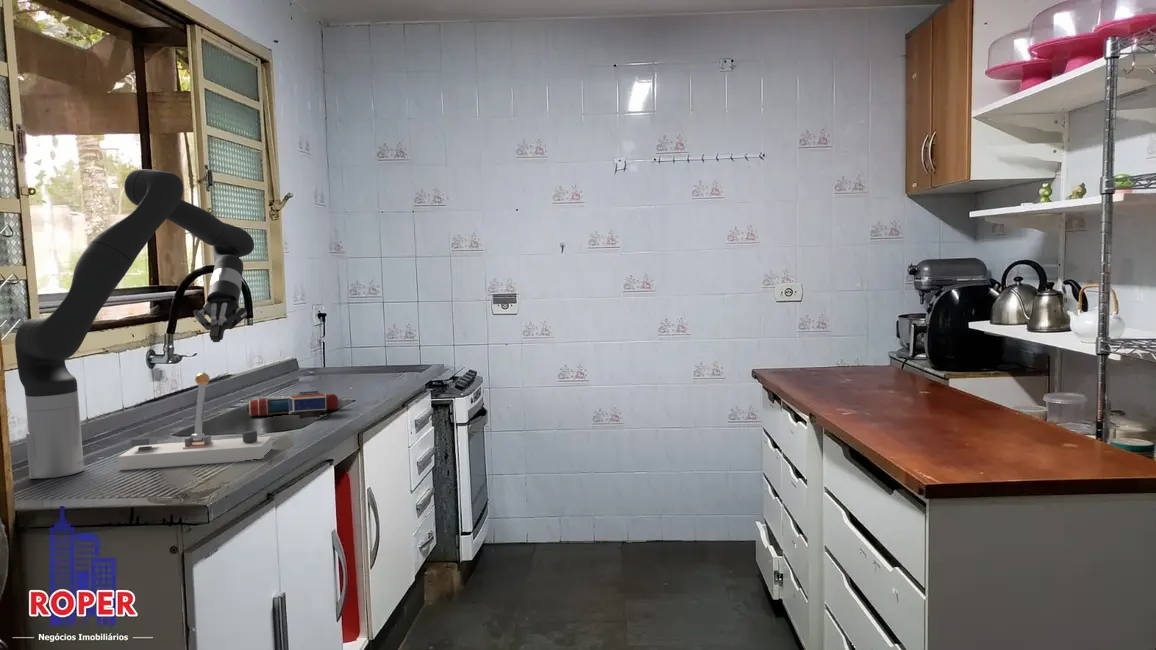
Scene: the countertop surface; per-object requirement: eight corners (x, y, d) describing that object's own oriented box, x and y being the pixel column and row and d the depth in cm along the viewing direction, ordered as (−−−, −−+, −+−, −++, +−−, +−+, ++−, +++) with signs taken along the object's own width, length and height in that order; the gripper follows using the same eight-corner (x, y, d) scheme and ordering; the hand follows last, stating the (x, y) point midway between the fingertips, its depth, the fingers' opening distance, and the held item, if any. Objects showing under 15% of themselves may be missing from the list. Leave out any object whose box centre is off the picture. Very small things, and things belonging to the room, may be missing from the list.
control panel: (262, 459, 172) (260, 437, 171) (119, 470, 166) (117, 447, 166) (272, 448, 182) (270, 427, 182) (138, 458, 177) (136, 436, 177)
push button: (255, 441, 175) (255, 433, 175) (241, 442, 174) (241, 433, 174) (258, 439, 178) (258, 430, 178) (244, 440, 177) (244, 431, 177)
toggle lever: (202, 439, 173) (208, 370, 179) (188, 440, 172) (194, 371, 179) (206, 443, 175) (211, 375, 182) (192, 444, 175) (197, 376, 181)
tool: (247, 399, 230) (245, 391, 212) (335, 394, 240) (341, 386, 221) (247, 426, 229) (245, 420, 211) (337, 419, 238) (342, 414, 220)
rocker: (149, 445, 170) (149, 438, 170) (131, 446, 169) (131, 439, 169) (157, 444, 175) (157, 437, 175) (139, 445, 174) (139, 439, 174)
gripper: (193, 280, 199) (182, 331, 187) (248, 278, 201) (240, 328, 190) (201, 300, 204) (190, 351, 193) (254, 297, 207) (247, 348, 195)
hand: (215, 340), depth 191 cm, fingers closed
